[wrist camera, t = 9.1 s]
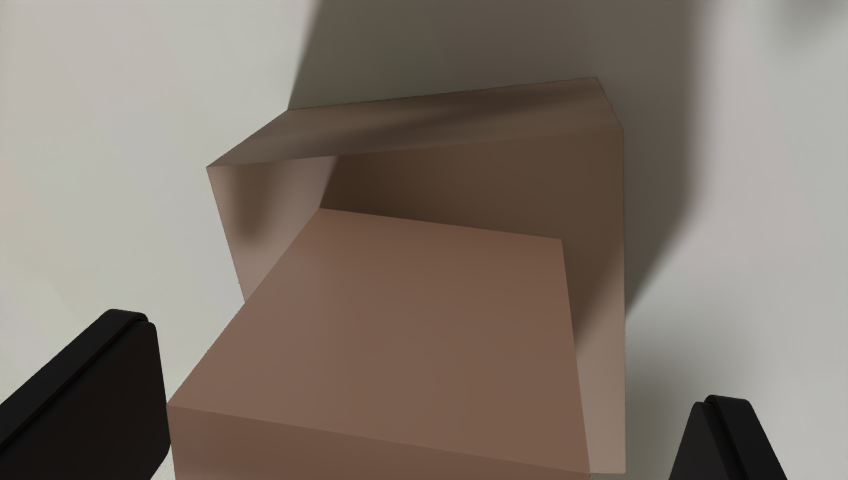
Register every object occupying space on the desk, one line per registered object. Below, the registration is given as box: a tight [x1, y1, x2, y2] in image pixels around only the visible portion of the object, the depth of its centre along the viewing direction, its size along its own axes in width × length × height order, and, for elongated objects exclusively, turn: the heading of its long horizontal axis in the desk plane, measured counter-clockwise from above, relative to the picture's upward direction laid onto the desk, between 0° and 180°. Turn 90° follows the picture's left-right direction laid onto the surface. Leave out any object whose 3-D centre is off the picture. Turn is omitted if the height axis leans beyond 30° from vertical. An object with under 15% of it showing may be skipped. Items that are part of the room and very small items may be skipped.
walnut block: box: [206, 77, 626, 473], centre depth 16 cm, size 8×8×5 cm
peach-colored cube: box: [166, 208, 590, 480], centre depth 11 cm, size 5×5×6 cm
